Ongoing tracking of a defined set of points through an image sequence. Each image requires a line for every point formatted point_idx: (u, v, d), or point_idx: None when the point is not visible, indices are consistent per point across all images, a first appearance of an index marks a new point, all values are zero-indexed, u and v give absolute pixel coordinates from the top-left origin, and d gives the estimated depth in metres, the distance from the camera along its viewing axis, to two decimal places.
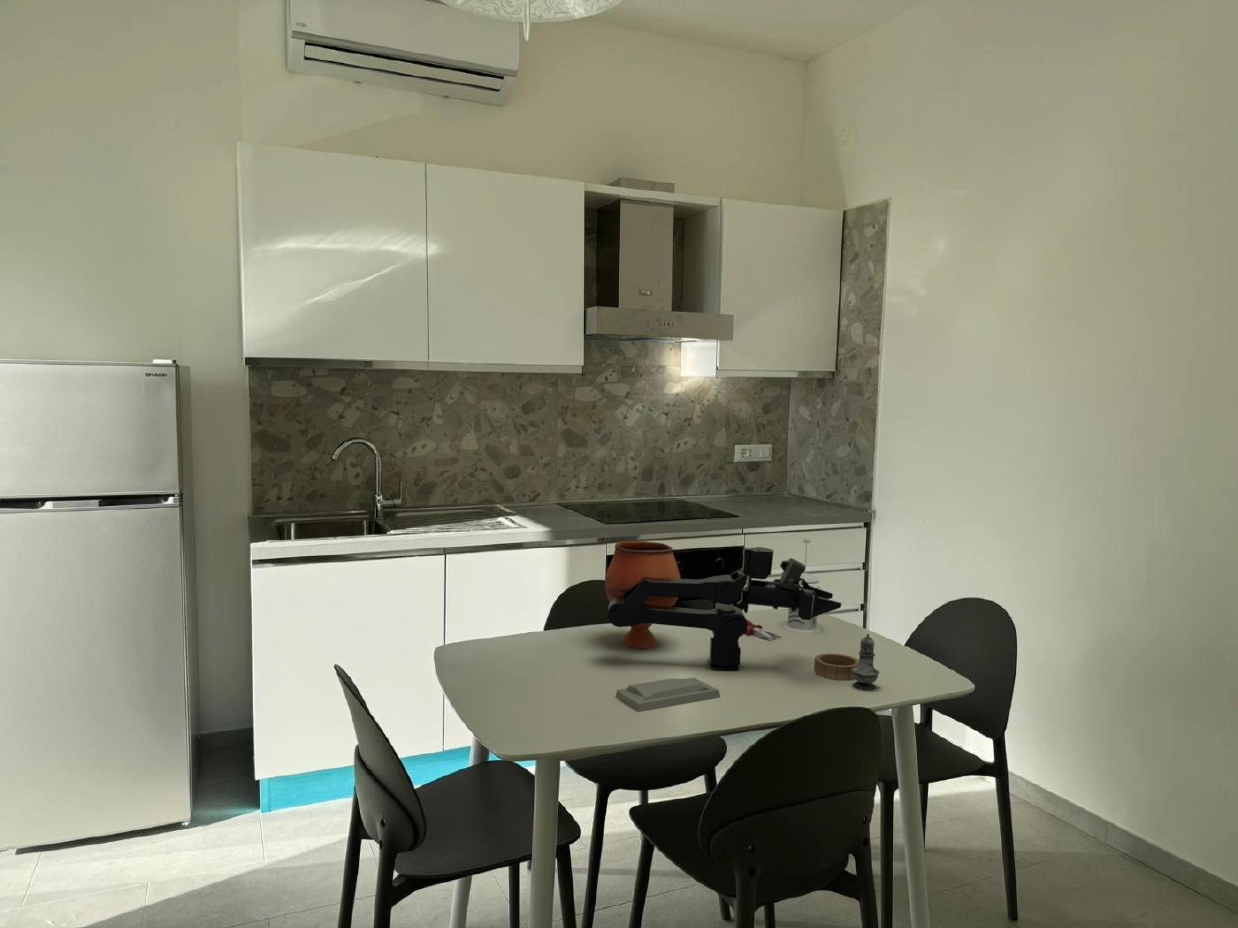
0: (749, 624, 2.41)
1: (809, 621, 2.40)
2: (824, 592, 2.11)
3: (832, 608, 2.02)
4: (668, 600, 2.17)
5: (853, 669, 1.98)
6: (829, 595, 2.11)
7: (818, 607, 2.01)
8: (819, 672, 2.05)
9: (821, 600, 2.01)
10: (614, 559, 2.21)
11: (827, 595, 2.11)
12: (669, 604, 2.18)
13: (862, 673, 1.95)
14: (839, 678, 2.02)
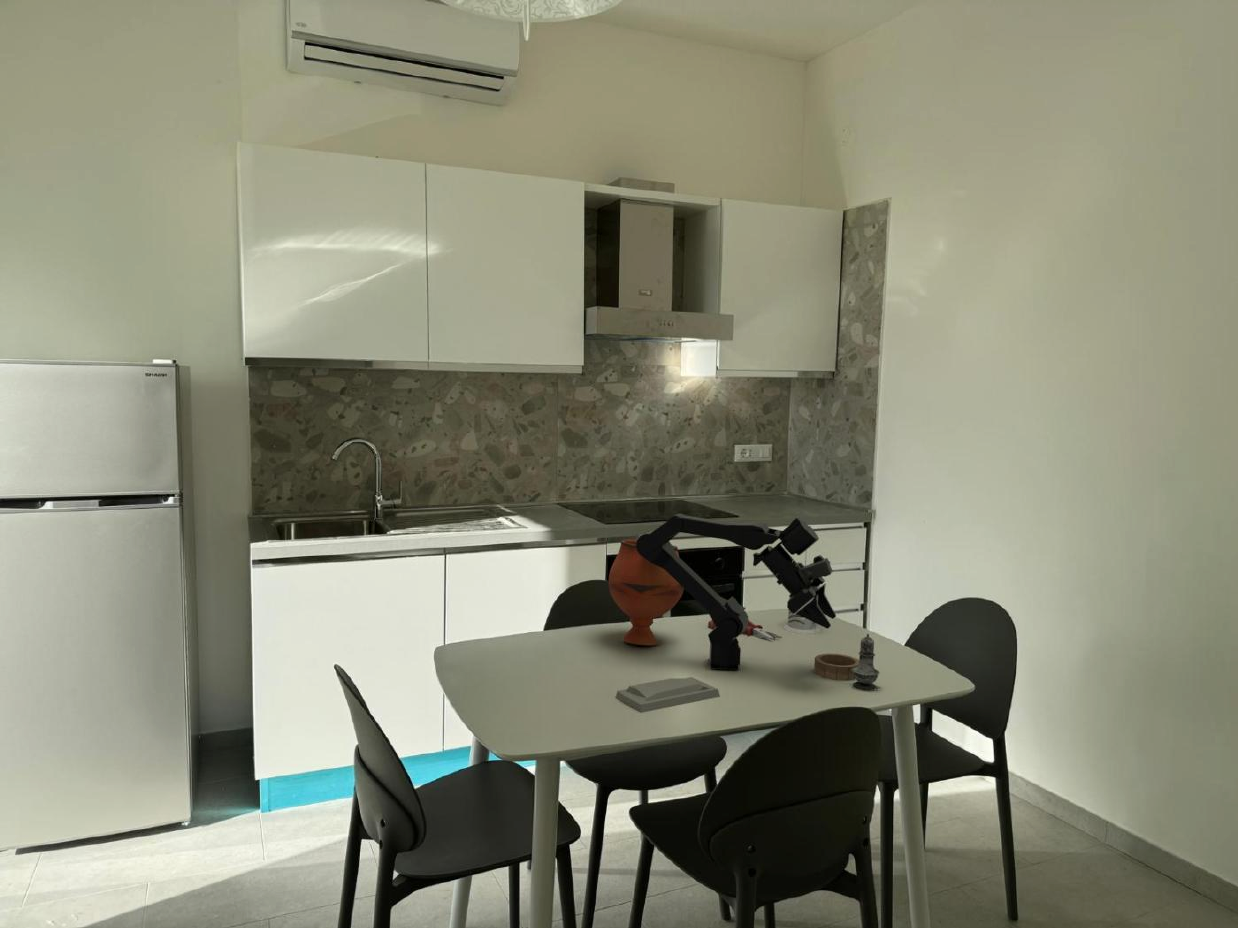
0: (749, 624, 2.41)
1: (809, 621, 2.40)
2: (830, 609, 2.04)
3: (820, 623, 1.95)
4: (672, 596, 2.18)
5: (853, 669, 1.98)
6: (832, 614, 2.04)
7: (809, 611, 1.95)
8: (819, 672, 2.05)
9: (817, 609, 1.94)
10: (619, 554, 2.22)
11: (830, 613, 2.04)
12: (672, 601, 2.19)
13: (862, 673, 1.95)
14: (839, 678, 2.02)
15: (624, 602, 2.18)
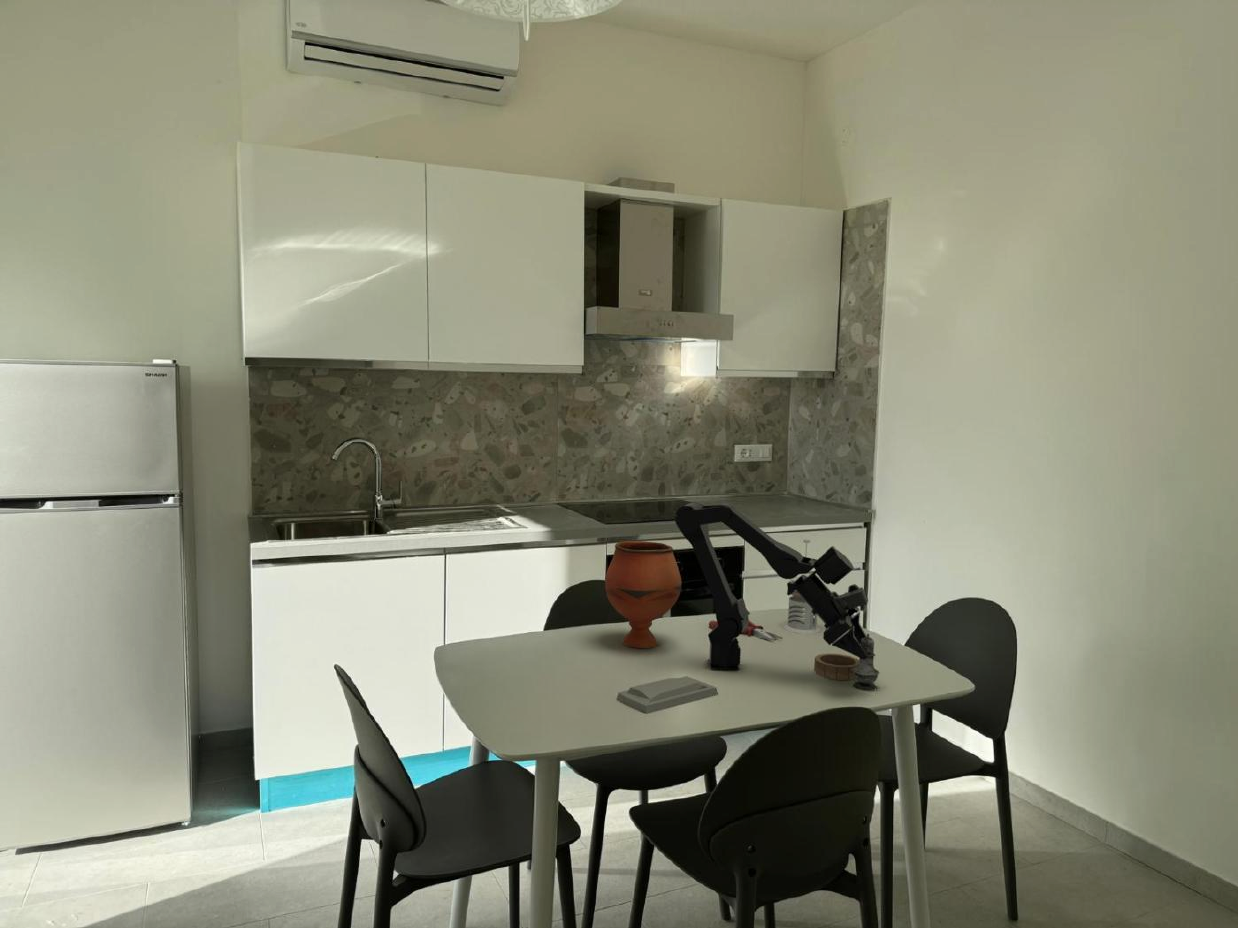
0: (750, 625, 2.41)
1: (809, 621, 2.40)
2: None
3: (856, 654, 1.93)
4: (669, 599, 2.17)
5: (853, 669, 1.98)
6: None
7: (846, 642, 1.93)
8: (819, 672, 2.05)
9: (853, 640, 1.92)
10: (614, 559, 2.21)
11: None
12: (670, 603, 2.18)
13: (862, 673, 1.95)
14: (839, 678, 2.02)
15: (622, 607, 2.17)
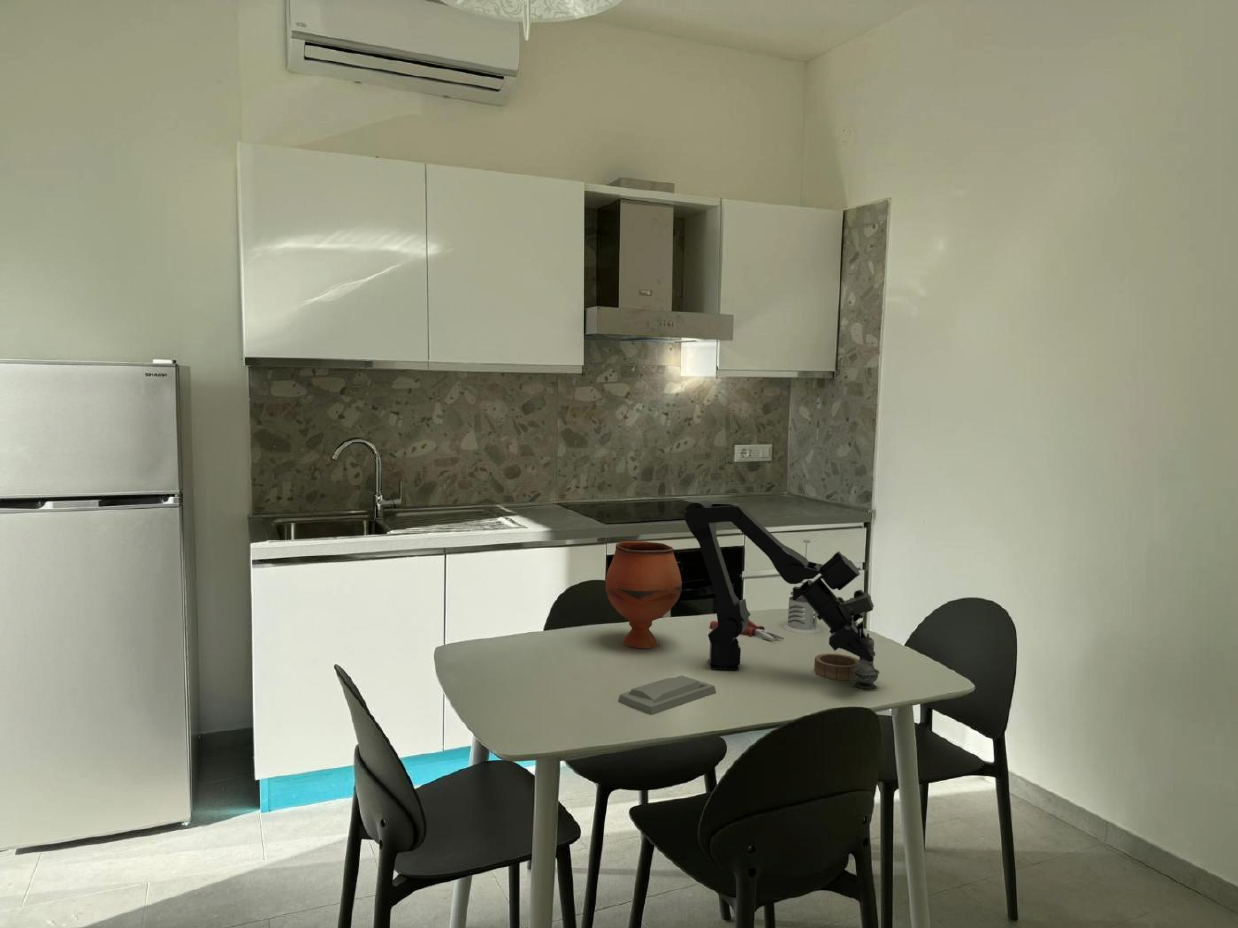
0: (751, 625, 2.40)
1: (809, 621, 2.40)
2: None
3: (863, 656, 1.95)
4: (670, 600, 2.17)
5: (853, 669, 1.98)
6: None
7: (852, 645, 1.95)
8: (819, 672, 2.05)
9: (860, 642, 1.94)
10: (615, 559, 2.21)
11: None
12: (670, 604, 2.18)
13: (862, 673, 1.95)
14: (839, 678, 2.02)
15: (622, 608, 2.17)
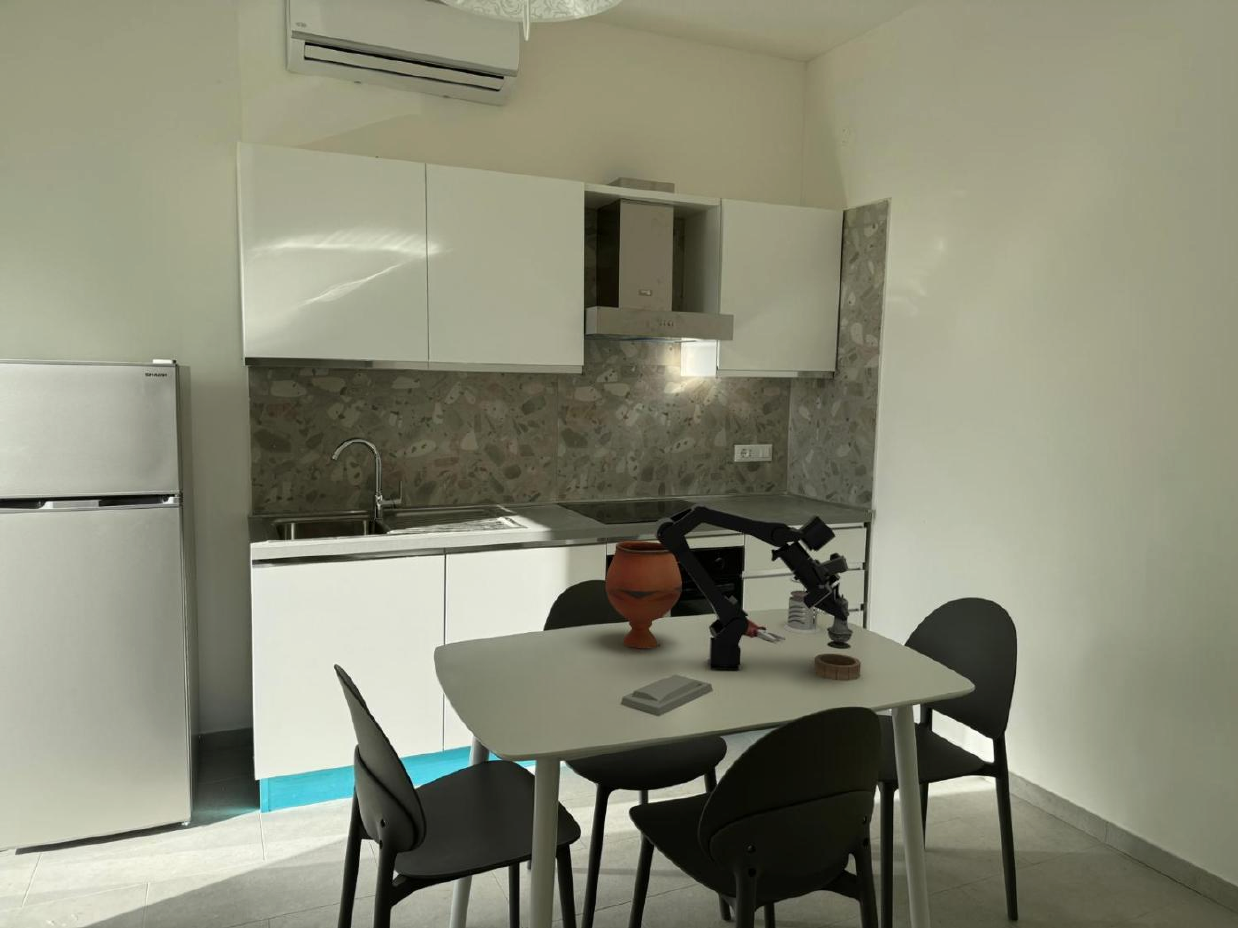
0: (753, 626, 2.40)
1: (809, 621, 2.40)
2: None
3: (837, 615, 2.03)
4: (670, 600, 2.17)
5: (828, 629, 2.06)
6: None
7: (827, 604, 2.03)
8: (819, 672, 2.05)
9: (834, 602, 2.02)
10: (615, 559, 2.20)
11: None
12: (670, 604, 2.18)
13: (836, 632, 2.03)
14: (839, 678, 2.02)
15: (622, 608, 2.17)
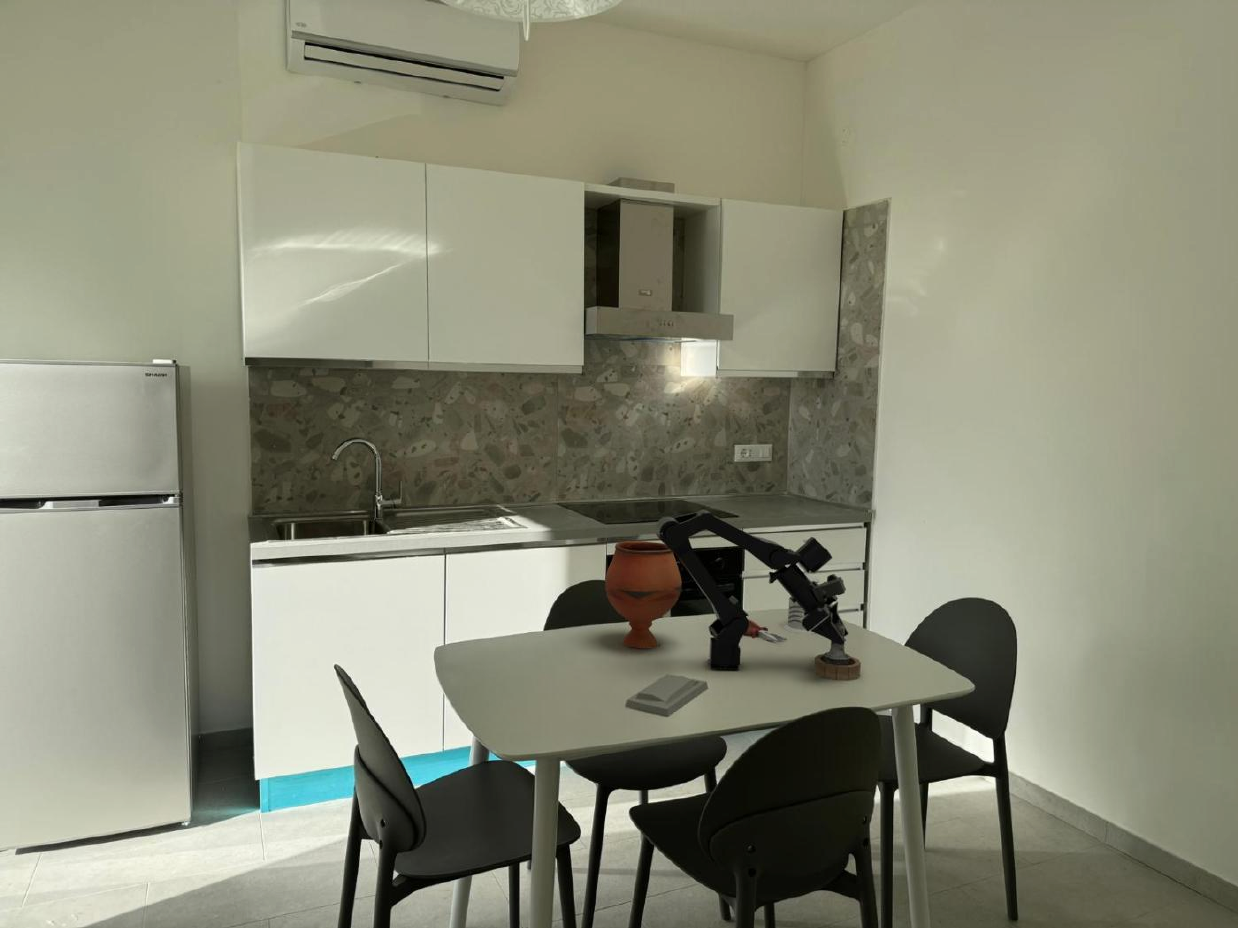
0: (755, 626, 2.39)
1: None
2: None
3: (834, 639, 2.02)
4: (669, 600, 2.17)
5: (825, 654, 2.07)
6: None
7: (824, 628, 2.02)
8: (819, 672, 2.05)
9: (831, 626, 2.01)
10: (615, 559, 2.20)
11: None
12: (670, 604, 2.18)
13: (833, 657, 2.04)
14: (839, 678, 2.02)
15: (621, 608, 2.17)
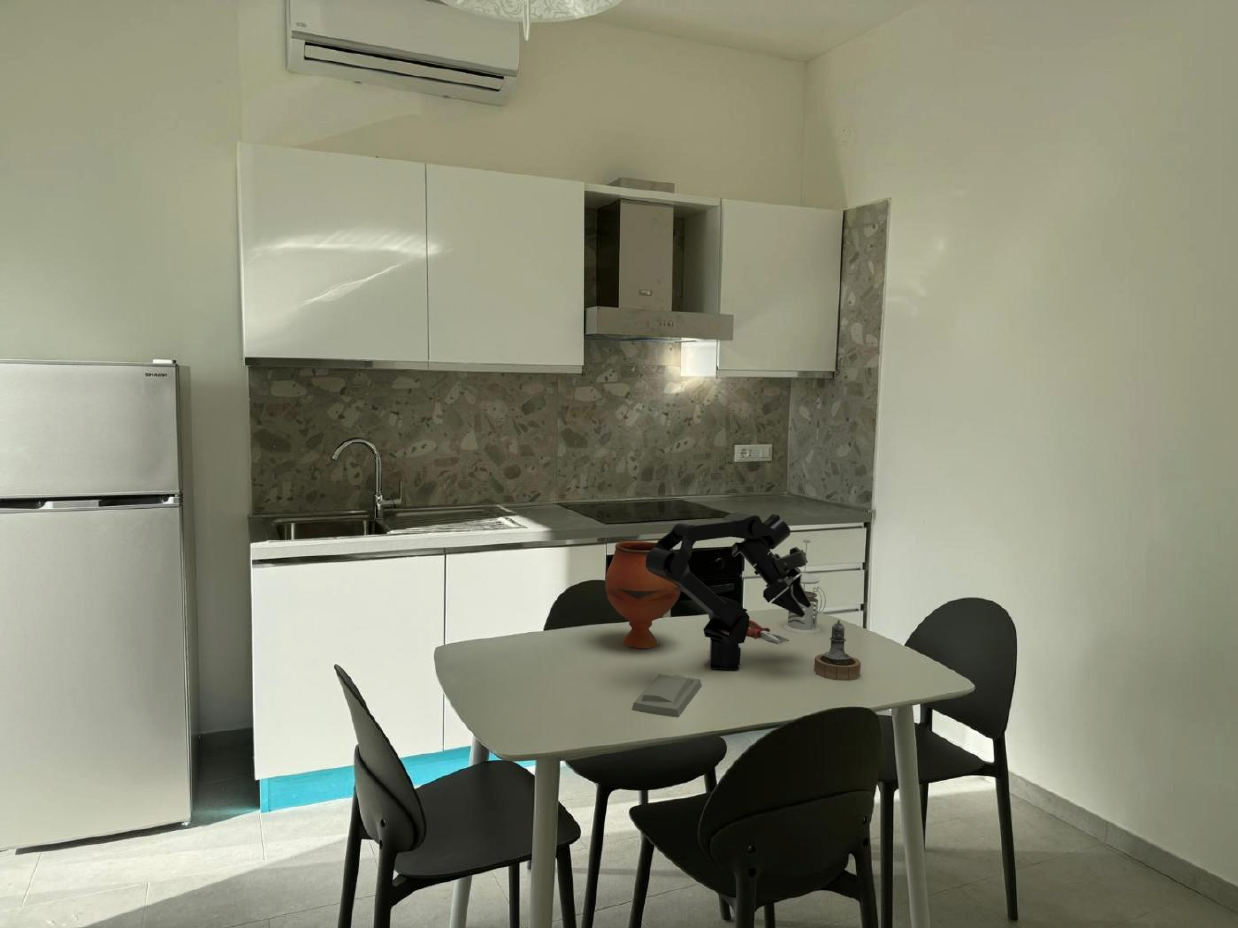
0: (757, 627, 2.39)
1: (809, 621, 2.40)
2: (805, 598, 2.13)
3: (794, 611, 2.04)
4: (669, 599, 2.17)
5: (825, 654, 2.07)
6: (807, 604, 2.13)
7: (784, 600, 2.04)
8: (819, 672, 2.05)
9: (791, 598, 2.03)
10: (615, 559, 2.21)
11: (806, 602, 2.13)
12: (670, 604, 2.18)
13: (833, 657, 2.04)
14: (839, 678, 2.02)
15: (621, 608, 2.17)
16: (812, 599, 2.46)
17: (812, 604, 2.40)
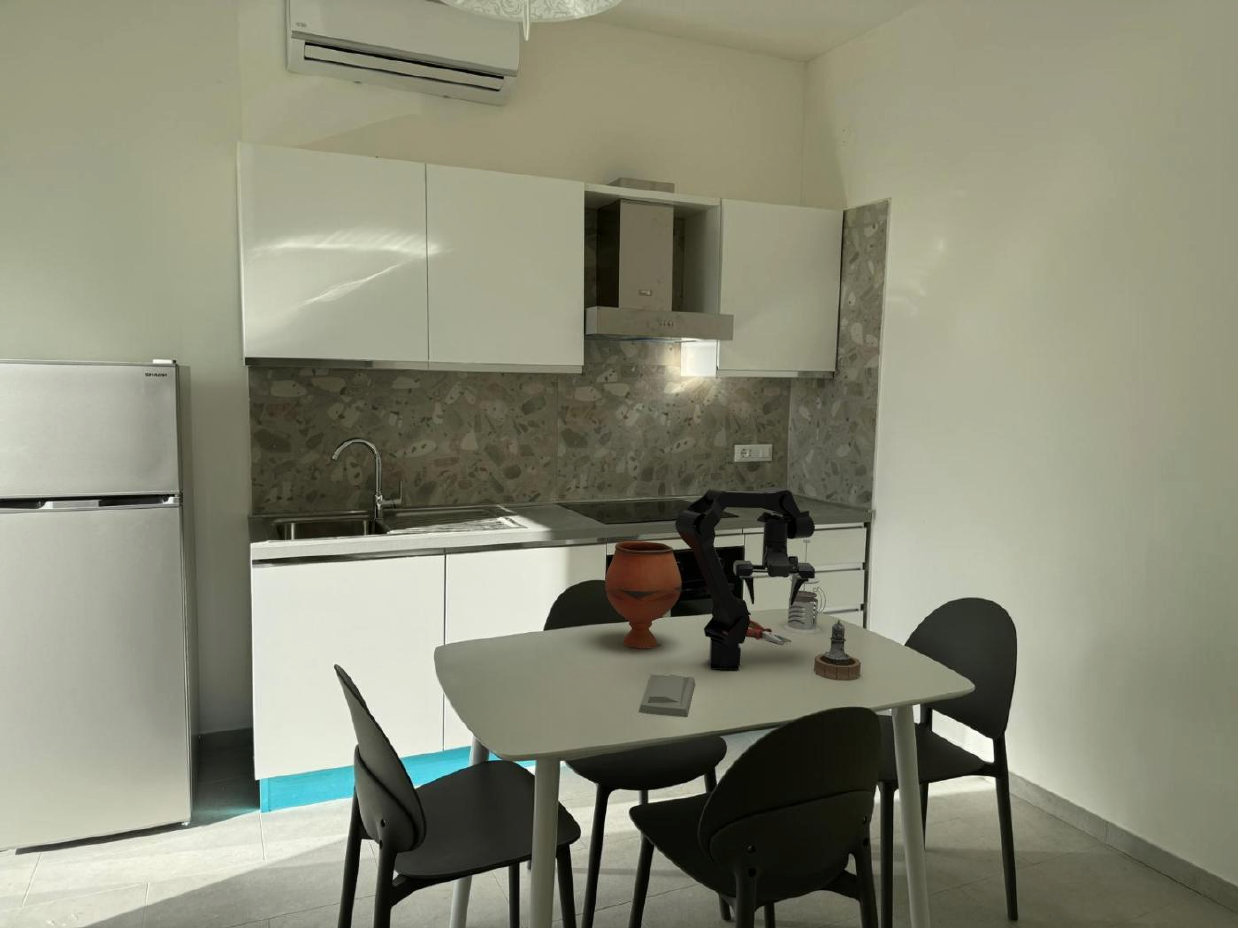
0: (759, 627, 2.38)
1: (809, 621, 2.40)
2: (791, 597, 2.15)
3: None
4: (669, 600, 2.17)
5: (825, 654, 2.07)
6: (790, 602, 2.16)
7: None
8: (819, 672, 2.05)
9: None
10: (615, 559, 2.20)
11: (790, 600, 2.16)
12: (670, 604, 2.18)
13: (833, 658, 2.04)
14: (839, 678, 2.02)
15: (621, 608, 2.17)
16: (812, 599, 2.46)
17: (812, 604, 2.40)
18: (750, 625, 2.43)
